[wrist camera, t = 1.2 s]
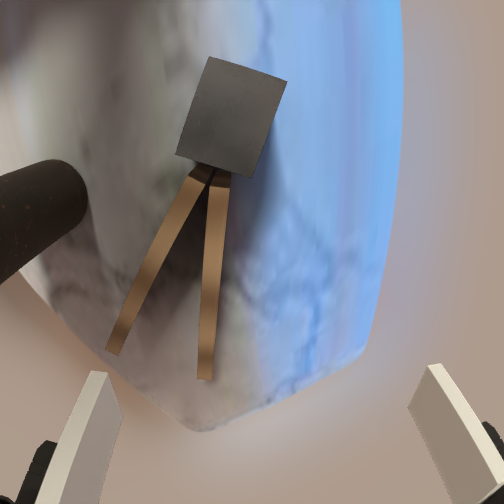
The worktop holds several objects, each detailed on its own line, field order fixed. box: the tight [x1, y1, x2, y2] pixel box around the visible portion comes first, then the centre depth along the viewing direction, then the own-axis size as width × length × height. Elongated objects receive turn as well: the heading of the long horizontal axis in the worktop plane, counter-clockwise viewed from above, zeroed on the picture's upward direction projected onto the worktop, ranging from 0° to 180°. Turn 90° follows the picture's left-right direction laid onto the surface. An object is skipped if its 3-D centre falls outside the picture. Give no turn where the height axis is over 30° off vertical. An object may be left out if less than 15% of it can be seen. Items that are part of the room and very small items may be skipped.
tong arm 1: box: [105, 162, 213, 356], centre depth 28 cm, size 18×1×8 cm, turn 149°
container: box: [0, 159, 87, 285], centre depth 20 cm, size 9×9×20 cm
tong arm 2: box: [197, 170, 232, 380], centre depth 29 cm, size 18×1×8 cm, turn 173°
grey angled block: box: [175, 56, 288, 178], centre depth 23 cm, size 7×5×9 cm
